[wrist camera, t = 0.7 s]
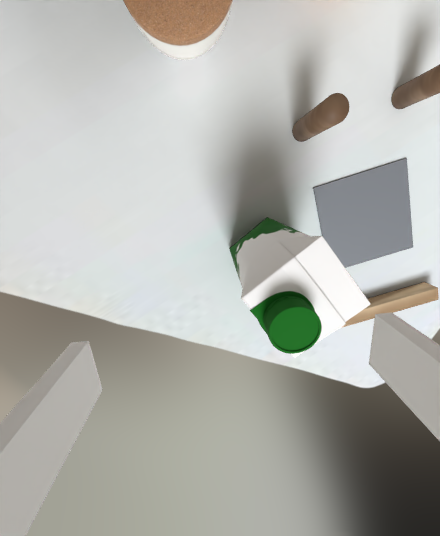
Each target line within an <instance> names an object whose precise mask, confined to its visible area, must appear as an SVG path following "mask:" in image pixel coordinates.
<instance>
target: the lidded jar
mask: <svg viewBox="0 0 440 536" xmlns="http://www.w3.org/2000/svg"><path fill="white" fill-rule="evenodd" d="M123 1H124V3H125V5H126V7H127V8H128V10H129V12H130V14H131V15H132V17H133V19H134V21H135V22H136V24H137V26H138V28H139V29H140V31H141V32H142V33H143V35H144V36H145V37H146V39H147V40H148V41H149V42H150V43H151V44H152V45H153V46H154V47H155V48H156V49H157V50H159V51H160V52H161V53H163V54H165V55H167V56H168V57H171V58H174V59H179V60H191V59H195V58H198V57H200V56H202V55H204V54H205V53H206V52H208V51H209V50H210V49H211V48H212V47H213V46H214V45H215V44H216V42H217V41H218V40H219V38H220V36H221V34H222V32H223V30H224V28H225V26H226V23H227V20H228V17H229V14H230V10H231V6H232V0H123Z"/></svg>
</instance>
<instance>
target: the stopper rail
mask: <svg viewBox="0 0 440 536" xmlns="http://www.w3.org/2000/svg"><path fill="white" fill-rule="evenodd" d="M435 300H438V288H437V287H435V286H432V285H430V284H428V283H425V282H423V283H419V284H416V285H412V286H409V287H406V288H402V289H399V290H395V291H392V292H389V293H385V294H382V295H378V296H375V297H372V298H368V301H369V302H370V305H369V306H368V307H366V308H365V309H363V310H362V311H360V312H359V313H358V314H356V315H355V316H353V317H352V318H350V319H349V320H347V321H346V322H345V323H346V324H345V325H344V326H342V327H345V326H348V325H352V324H355V323H359V322H362V321H366V320H369V319H373V318H375V314H382V313H393V312H397V311H400V310H404V309H407V308H411V307H414V306H418V305H421V304H424V303H428V302H431V301H435Z"/></svg>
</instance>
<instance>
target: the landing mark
mask: <svg viewBox="0 0 440 536" xmlns="http://www.w3.org/2000/svg"><path fill="white" fill-rule="evenodd" d="M313 189H314V194H315V200H316V205H317V211H318V216H319V221H320V227H321V232H322V236H323V238H324V239H325V241H326V242H327V243H328V245H329V246H330V248H331V249H332V250H333V252H334V253H335V255H336V256H337V257H338V259H339V260H340V262H341V263H342V264H343V266H344V267H345V268H346V267H349V266H353V265H356V264H359V263H362V262H366V261H369V260H372V259H376V258H379V257H382V256H386V255H389V254H392V253H396V252H399V251H402V250H406V249H409V248H412V247H413V239H412V225H411V211H410V197H409V183H408V169H407V158H405V159H402V160H399V161H396V162H393V163H390V164H387V165H384V166H380V167H377V168H374V169H371V170H368V171H365V172H362V173H359V174H355V175H352V176H349V177H346V178H343V179H340V180H337V181H334V182H330V183H327V184H324V185H321V186H318V187H315V188H313Z"/></svg>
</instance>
